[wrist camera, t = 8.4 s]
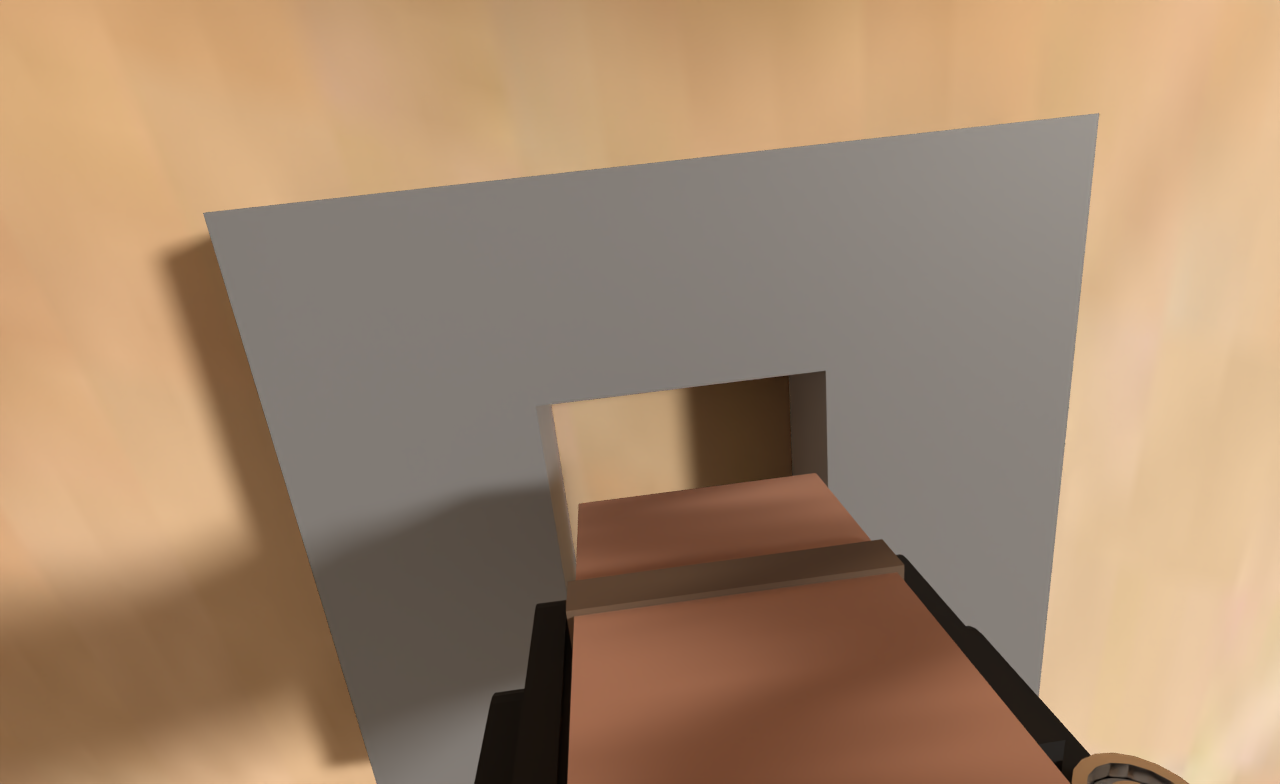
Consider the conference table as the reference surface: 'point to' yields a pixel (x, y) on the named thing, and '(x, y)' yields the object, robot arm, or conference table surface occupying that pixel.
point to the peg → (769, 652)
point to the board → (658, 380)
